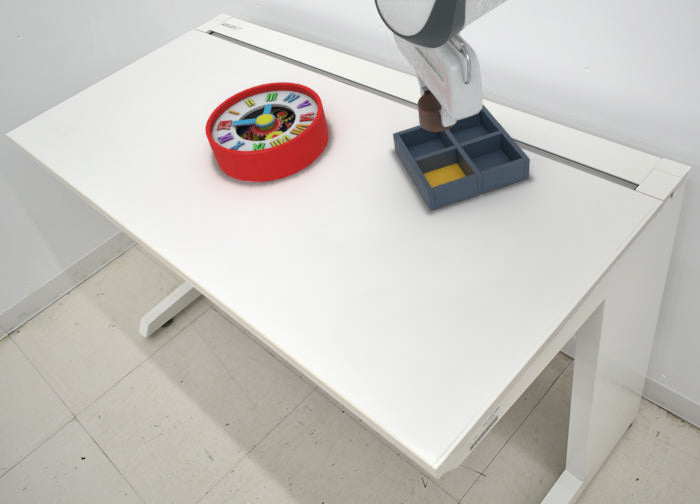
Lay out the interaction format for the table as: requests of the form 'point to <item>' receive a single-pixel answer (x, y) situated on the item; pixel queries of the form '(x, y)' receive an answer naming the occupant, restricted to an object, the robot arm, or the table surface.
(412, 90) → the table surface
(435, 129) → the cylinder
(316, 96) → the toy clock
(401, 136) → the grid
